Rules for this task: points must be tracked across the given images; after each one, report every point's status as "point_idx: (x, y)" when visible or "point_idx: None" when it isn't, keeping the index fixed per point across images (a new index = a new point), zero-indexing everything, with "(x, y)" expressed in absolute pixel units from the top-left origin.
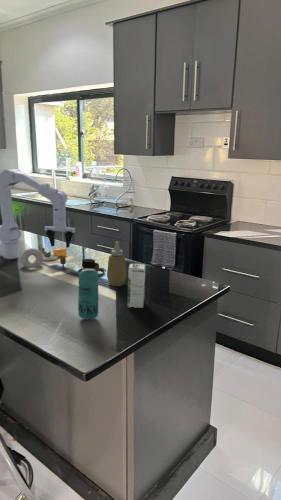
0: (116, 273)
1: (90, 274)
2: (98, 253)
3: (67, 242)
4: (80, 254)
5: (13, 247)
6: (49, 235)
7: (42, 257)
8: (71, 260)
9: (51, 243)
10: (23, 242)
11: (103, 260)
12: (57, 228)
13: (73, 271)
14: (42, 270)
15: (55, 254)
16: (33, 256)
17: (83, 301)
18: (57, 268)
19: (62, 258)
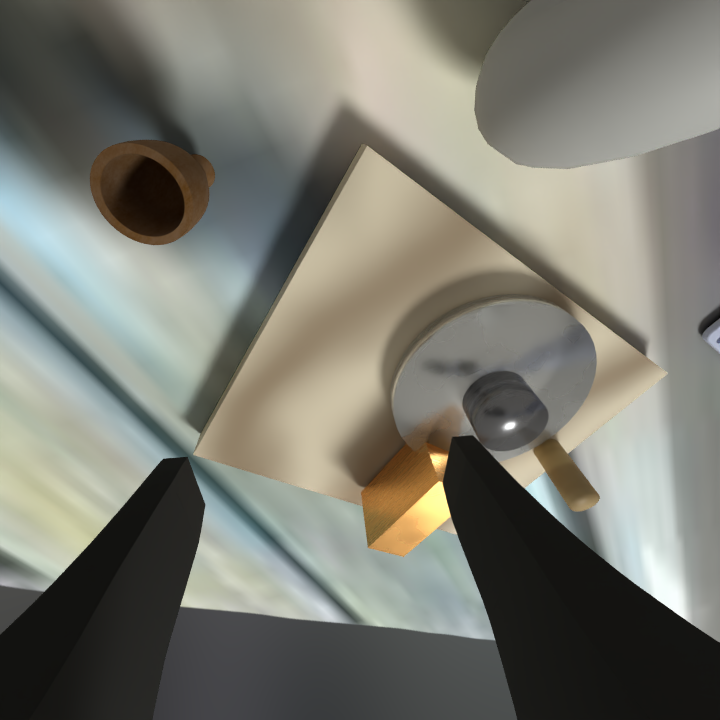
0: None
1: None
2: (222, 598)
3: (89, 551)
4: (315, 556)
5: None
6: (652, 665)
7: (504, 83)
8: (246, 407)
9: (487, 470)
10: (694, 588)
11: (74, 521)
12: None
13: (19, 130)
14: (423, 29)
15: (434, 449)
16: (623, 393)
17: None
18: (286, 191)
19: (180, 226)
